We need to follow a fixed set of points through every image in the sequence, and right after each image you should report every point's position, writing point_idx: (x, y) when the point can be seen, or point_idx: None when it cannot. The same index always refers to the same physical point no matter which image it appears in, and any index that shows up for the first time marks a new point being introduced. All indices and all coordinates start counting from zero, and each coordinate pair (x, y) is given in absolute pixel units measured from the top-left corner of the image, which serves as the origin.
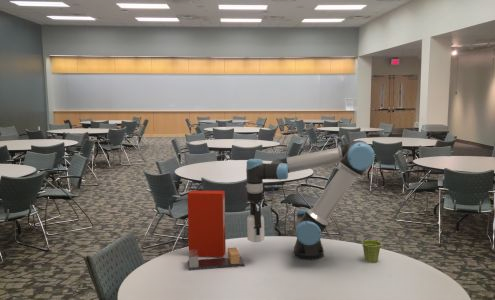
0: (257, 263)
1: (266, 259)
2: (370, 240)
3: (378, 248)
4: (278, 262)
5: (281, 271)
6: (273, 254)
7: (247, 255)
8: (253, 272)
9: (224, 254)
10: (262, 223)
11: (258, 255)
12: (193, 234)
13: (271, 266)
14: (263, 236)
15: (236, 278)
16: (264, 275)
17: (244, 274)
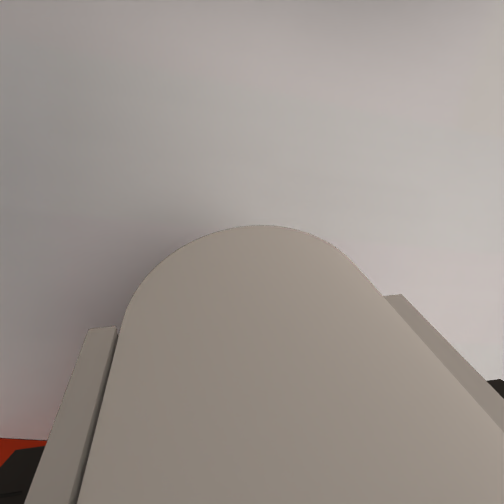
0: (259, 220)
1: (168, 128)
2: None
3: None
4: (265, 18)
5: (479, 44)
6: (8, 19)
7: (51, 284)
8: (426, 264)
9: (37, 441)
10: None
11: (48, 189)
12: None
13: (350, 111)
14: (357, 272)
15: (479, 361)
16: (501, 196)
17: (439, 319)
